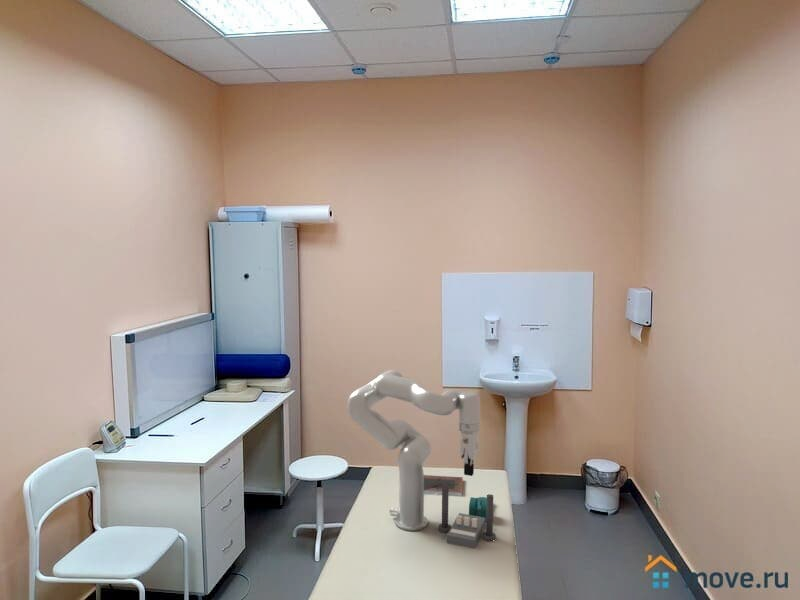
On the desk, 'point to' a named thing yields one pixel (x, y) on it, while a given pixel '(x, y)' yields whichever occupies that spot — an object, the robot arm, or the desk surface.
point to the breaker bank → (466, 521)
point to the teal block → (478, 506)
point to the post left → (444, 512)
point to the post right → (489, 520)
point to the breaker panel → (466, 532)
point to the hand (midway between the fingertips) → (468, 474)
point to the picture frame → (443, 485)
